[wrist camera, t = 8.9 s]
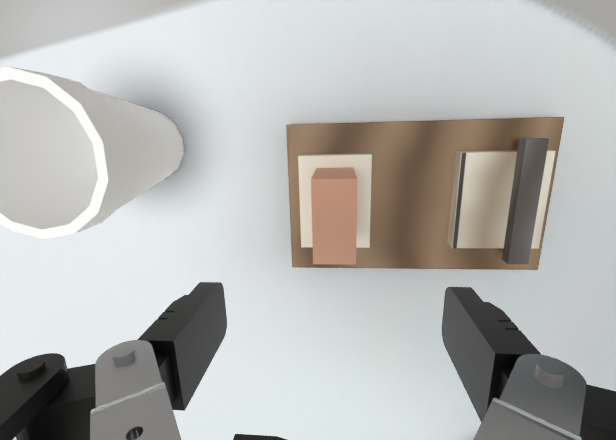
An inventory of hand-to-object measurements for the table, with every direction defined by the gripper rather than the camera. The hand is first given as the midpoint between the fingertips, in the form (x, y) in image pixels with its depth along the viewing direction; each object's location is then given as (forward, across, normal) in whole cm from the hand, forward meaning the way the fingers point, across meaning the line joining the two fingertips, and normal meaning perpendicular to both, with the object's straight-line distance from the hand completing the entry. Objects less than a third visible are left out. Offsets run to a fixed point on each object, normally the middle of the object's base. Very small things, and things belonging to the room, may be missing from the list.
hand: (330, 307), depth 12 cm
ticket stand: (+20, -7, 0) cm, 21 cm away
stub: (+18, 0, 0) cm, 18 cm away
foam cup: (+20, +17, -5) cm, 27 cm away
